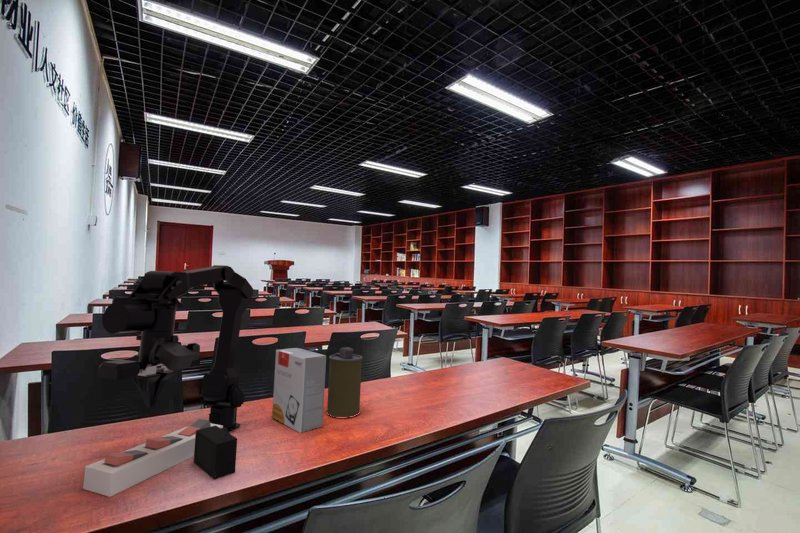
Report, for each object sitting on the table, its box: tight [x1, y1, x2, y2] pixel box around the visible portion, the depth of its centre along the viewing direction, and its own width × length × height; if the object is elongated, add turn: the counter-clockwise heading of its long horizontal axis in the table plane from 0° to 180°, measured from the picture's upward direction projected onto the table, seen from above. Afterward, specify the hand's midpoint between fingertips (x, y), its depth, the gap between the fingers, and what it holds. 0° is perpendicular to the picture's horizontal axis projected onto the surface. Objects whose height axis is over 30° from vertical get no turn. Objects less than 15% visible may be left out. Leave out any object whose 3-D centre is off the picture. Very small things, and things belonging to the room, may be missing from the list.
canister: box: [326, 346, 364, 417], centre depth 117 cm, size 11×10×20 cm
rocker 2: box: [145, 436, 182, 449], centre depth 80 cm, size 6×3×1 cm, turn 161°
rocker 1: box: [104, 450, 148, 465], centre depth 73 cm, size 6×3×1 cm, turn 161°
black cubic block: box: [193, 426, 238, 480], centre depth 79 cm, size 10×5×7 cm, turn 49°
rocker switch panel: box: [82, 423, 223, 498], centre depth 81 cm, size 29×7×4 cm, turn 161°
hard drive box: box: [271, 347, 327, 434], centre depth 107 cm, size 16×8×20 cm, turn 47°
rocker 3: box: [178, 418, 210, 437], centre depth 87 cm, size 6×3×1 cm, turn 162°
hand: (150, 406), depth 77 cm, fingers closed
